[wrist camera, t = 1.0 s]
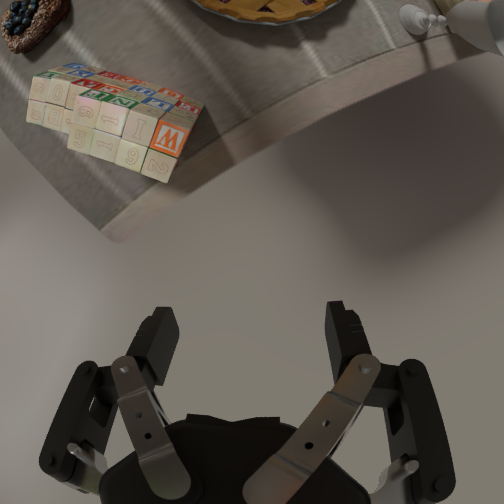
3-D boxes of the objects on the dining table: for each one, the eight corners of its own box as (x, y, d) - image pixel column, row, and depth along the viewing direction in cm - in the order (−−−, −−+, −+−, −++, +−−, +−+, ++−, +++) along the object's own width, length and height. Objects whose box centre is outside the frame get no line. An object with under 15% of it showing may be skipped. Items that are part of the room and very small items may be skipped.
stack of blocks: (62, 100, 27) (10, 130, 18) (73, 62, 23) (16, 80, 14) (187, 142, 35) (167, 185, 26) (206, 103, 31) (190, 131, 22)
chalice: (387, 24, 22) (482, 33, 9) (397, -10, 17) (491, -16, 4) (427, 49, 23) (521, 79, 10) (437, 16, 19) (531, 32, 6)
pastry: (78, 9, 18) (55, 9, 14) (25, 61, 20) (1, 69, 16) (58, -32, 11) (36, -35, 6) (7, 20, 13) (-16, 25, 9)
